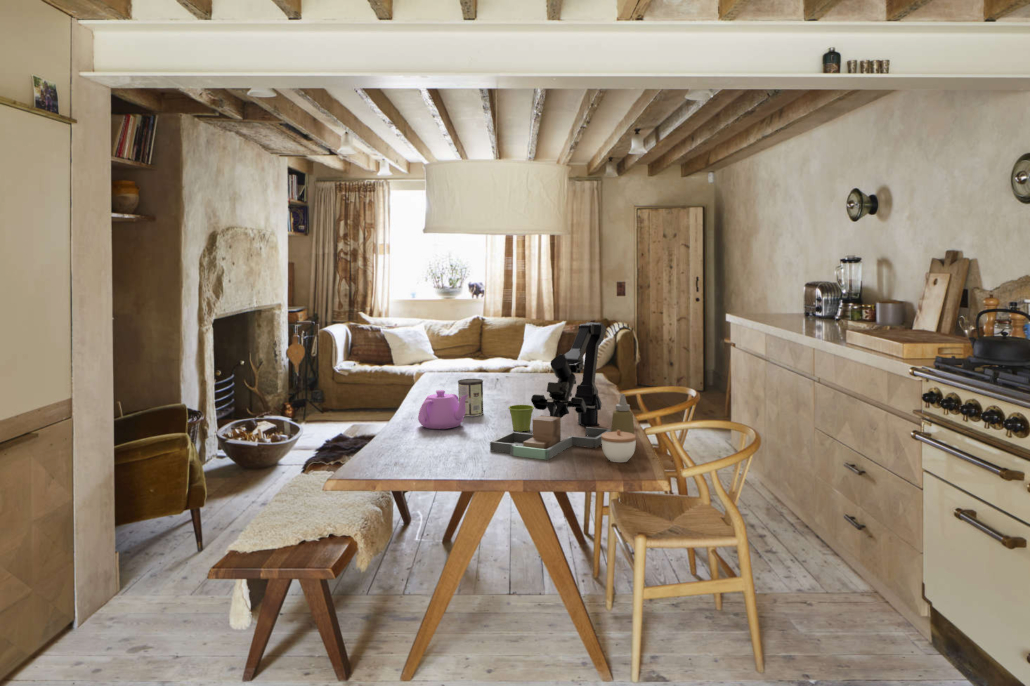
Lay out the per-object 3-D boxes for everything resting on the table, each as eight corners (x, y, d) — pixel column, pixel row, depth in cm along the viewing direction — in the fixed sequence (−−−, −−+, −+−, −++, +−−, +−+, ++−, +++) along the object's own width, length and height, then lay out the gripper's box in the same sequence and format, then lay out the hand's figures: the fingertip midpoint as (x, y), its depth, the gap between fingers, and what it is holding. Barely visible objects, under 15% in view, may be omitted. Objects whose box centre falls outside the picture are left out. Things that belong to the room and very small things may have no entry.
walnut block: (541, 444, 236) (541, 415, 235) (560, 446, 233) (560, 417, 232) (523, 454, 224) (523, 423, 223) (543, 456, 221) (543, 425, 220)
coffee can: (468, 410, 295) (467, 377, 294) (488, 413, 289) (488, 379, 288) (453, 415, 286) (452, 381, 285) (473, 417, 281) (473, 383, 279)
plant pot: (531, 433, 252) (531, 409, 252) (506, 432, 254) (506, 409, 253) (536, 428, 262) (536, 405, 261) (511, 427, 263) (511, 404, 263)
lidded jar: (597, 455, 221) (598, 426, 220) (631, 454, 222) (631, 425, 221) (605, 465, 211) (605, 434, 210) (639, 464, 211) (640, 433, 211)
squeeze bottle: (636, 445, 234) (637, 392, 232) (632, 451, 226) (633, 396, 224) (612, 443, 236) (613, 391, 234) (607, 449, 229) (608, 395, 227)
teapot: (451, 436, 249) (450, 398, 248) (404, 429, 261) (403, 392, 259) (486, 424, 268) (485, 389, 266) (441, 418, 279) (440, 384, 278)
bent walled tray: (534, 429, 258) (534, 421, 258) (612, 437, 245) (612, 429, 245) (487, 452, 226) (487, 443, 226) (573, 463, 213) (573, 453, 213)
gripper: (532, 371, 242) (519, 408, 233) (583, 374, 234) (571, 413, 225) (542, 390, 250) (529, 426, 241) (591, 393, 241) (580, 432, 233)
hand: (551, 424), depth 235 cm, fingers closed
